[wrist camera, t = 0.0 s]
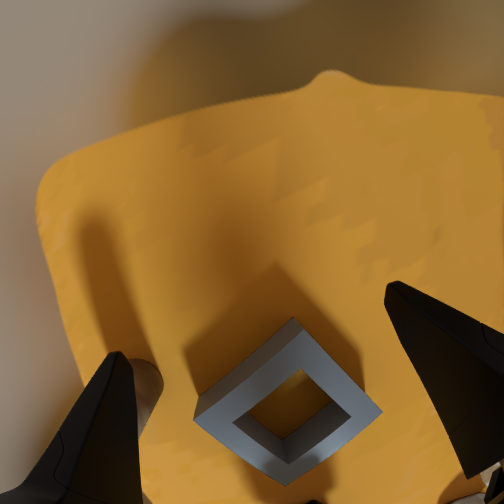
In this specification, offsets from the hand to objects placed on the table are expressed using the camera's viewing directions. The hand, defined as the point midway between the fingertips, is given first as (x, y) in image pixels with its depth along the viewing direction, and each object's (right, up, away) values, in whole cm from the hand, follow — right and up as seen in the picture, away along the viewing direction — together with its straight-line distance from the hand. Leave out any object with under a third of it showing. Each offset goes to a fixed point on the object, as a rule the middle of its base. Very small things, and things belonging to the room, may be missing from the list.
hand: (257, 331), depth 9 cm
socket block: (+3, -11, +15) cm, 19 cm away
